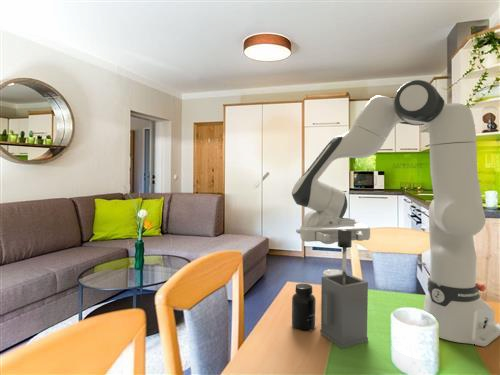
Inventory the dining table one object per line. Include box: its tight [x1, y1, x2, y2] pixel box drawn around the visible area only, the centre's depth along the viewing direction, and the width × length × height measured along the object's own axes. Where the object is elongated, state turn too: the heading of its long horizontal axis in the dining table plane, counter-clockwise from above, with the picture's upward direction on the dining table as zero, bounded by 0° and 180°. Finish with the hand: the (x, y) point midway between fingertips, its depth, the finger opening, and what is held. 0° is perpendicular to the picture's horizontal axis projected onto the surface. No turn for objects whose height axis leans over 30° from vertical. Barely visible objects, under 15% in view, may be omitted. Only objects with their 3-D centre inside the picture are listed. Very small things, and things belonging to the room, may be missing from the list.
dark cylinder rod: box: [337, 229, 353, 285], centre depth 89 cm, size 6×6×17 cm
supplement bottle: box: [291, 283, 316, 332], centre depth 96 cm, size 7×7×12 cm
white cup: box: [323, 268, 342, 277], centre depth 115 cm, size 8×8×10 cm
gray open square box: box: [319, 272, 369, 350], centre depth 89 cm, size 11×9×16 cm
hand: (344, 238), depth 89 cm, fingers open, 8 cm apart
